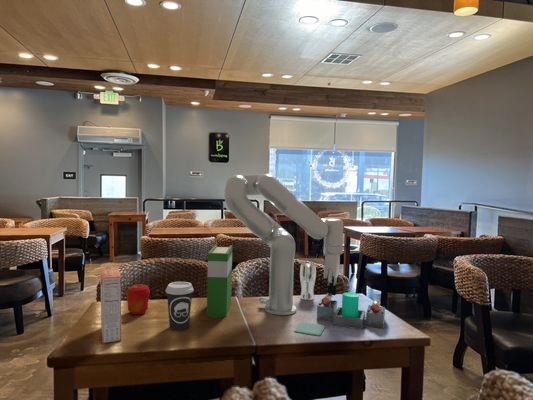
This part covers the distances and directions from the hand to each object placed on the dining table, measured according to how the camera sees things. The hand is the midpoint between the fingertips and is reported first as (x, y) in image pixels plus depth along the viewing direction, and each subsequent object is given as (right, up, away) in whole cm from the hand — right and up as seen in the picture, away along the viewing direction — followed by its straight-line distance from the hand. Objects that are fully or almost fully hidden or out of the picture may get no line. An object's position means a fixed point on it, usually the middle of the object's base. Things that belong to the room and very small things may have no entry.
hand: (332, 294), depth 156 cm
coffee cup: (-57, -6, -22) cm, 61 cm away
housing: (+5, -7, -12) cm, 15 cm away
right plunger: (+14, -2, -14) cm, 20 cm away
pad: (-11, -7, -21) cm, 25 cm away
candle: (+4, -7, -13) cm, 16 cm away
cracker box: (-78, -6, -29) cm, 83 cm away
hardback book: (-45, -6, -2) cm, 46 cm away
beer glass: (-8, -6, +15) cm, 18 cm away
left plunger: (-3, -1, -8) cm, 9 cm away
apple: (-75, -5, -9) cm, 76 cm away
